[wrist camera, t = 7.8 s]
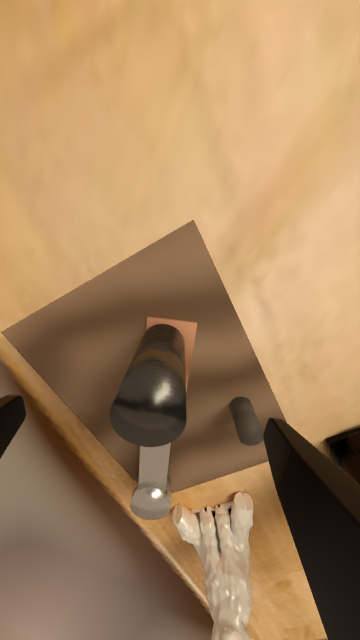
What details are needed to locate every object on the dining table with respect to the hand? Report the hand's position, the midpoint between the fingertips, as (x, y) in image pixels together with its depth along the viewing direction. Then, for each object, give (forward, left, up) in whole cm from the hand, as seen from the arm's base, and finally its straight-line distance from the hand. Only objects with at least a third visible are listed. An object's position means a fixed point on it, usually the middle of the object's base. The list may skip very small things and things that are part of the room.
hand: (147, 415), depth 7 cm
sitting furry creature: (-25, +7, -10) cm, 28 cm away
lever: (-7, +4, -7) cm, 11 cm away
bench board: (-5, +3, -9) cm, 11 cm away
